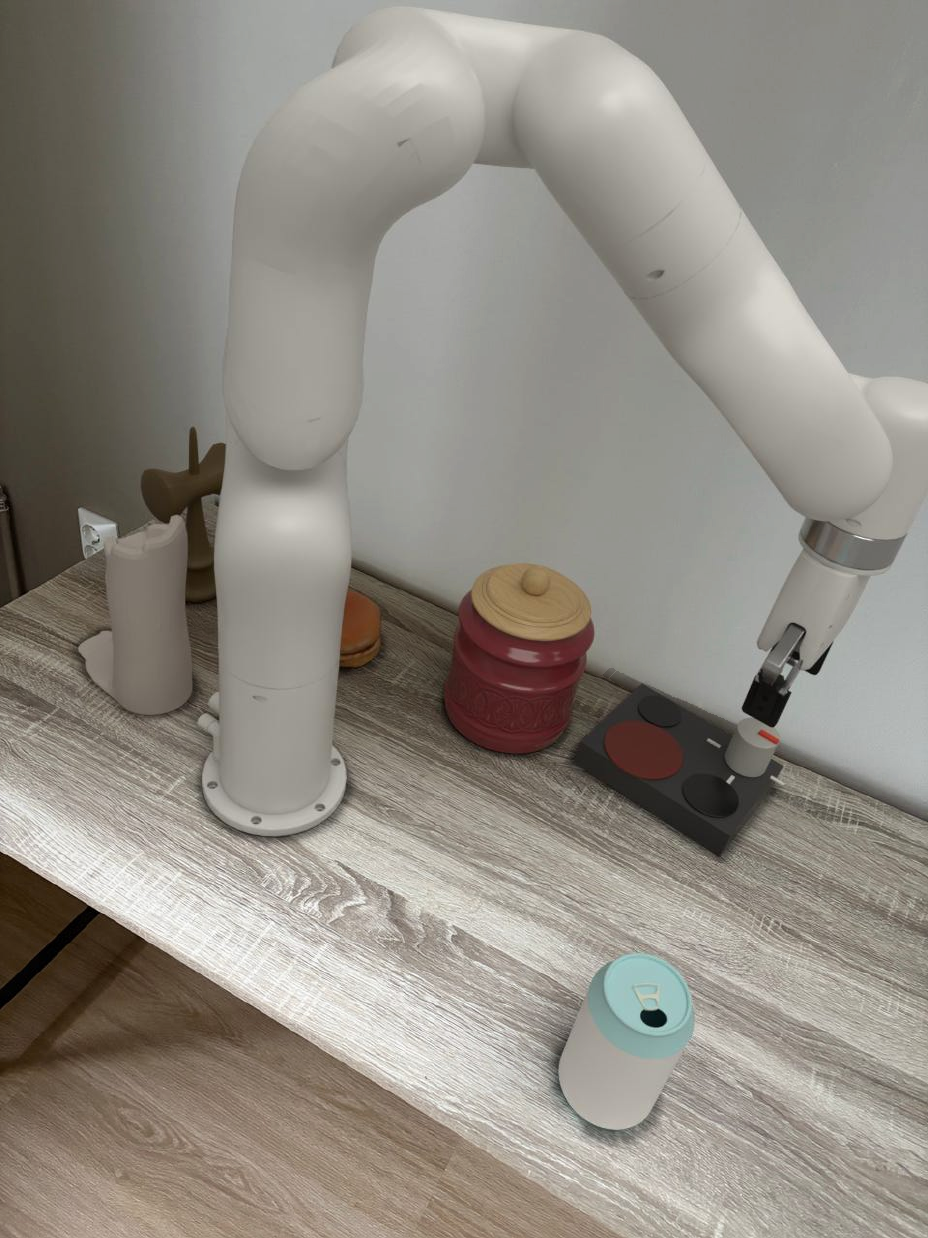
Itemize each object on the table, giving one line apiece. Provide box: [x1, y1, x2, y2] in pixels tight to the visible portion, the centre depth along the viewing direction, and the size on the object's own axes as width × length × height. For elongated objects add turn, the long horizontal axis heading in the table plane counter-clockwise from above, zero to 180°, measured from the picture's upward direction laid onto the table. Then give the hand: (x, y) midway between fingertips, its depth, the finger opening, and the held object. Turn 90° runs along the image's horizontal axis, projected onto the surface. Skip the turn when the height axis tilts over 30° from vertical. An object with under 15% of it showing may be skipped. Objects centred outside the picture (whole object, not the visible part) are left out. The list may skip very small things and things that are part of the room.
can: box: [558, 952, 696, 1131], centre depth 66 cm, size 7×7×12 cm
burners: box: [604, 696, 739, 818], centre depth 93 cm, size 14×12×1 cm
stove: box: [573, 683, 786, 858], centre depth 95 cm, size 17×14×3 cm
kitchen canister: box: [443, 562, 596, 754], centre depth 94 cm, size 13×13×18 cm
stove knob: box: [725, 717, 781, 777], centre depth 93 cm, size 4×4×4 cm
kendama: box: [140, 426, 226, 603], centre depth 101 cm, size 6×10×20 cm, turn 139°
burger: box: [339, 588, 382, 668], centre depth 102 cm, size 10×9×5 cm
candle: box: [77, 515, 193, 716], centre depth 90 cm, size 7×14×20 cm, turn 51°
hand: (780, 691), depth 88 cm, fingers open, 9 cm apart
